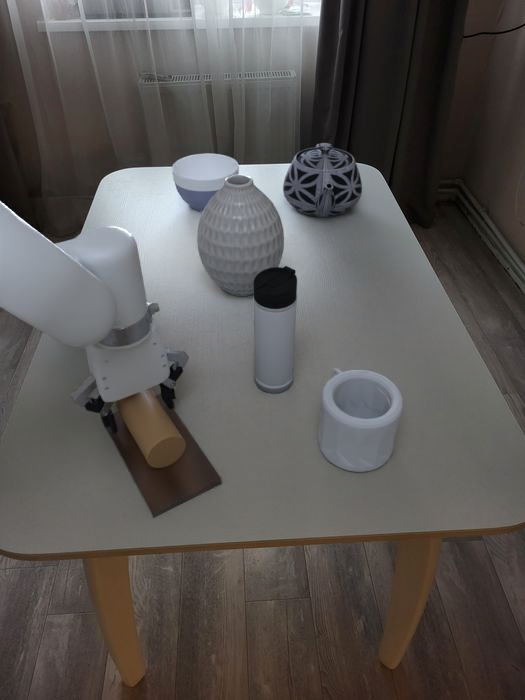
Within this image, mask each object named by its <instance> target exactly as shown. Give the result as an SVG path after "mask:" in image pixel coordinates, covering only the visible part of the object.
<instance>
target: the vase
mask: <svg viewBox="0 0 525 700" xmlns="http://www.w3.org/2000/svg"><path fill="white" fill-rule="evenodd" d="M284 233H285V232H284V227H283V223H282V218H281V215H280V214H279V212H278V209H277V207H276V206H275V204H274V203H273V201H272V200H271V199H270V198H269V197H268V196H267V195H266V194H265V193H264V192H263V191H262V190H261V189H260V188H258V187H257V186H256V185H255V183H254V179H253V178H252V177H250V176H249V175H246V174H239V175H233V176H229V177H228V178H226V179H225V181H224V186H223V187H222V188H221V189H220V190H219V191H218V192H217V193H216V194H215V195H214V196H213V197H212V198H211V199H210V200H209V202H208V203H207V204H206V206H205V208H204V210H203V212H201V215H200V218H199V221H198V225H197V233H196V234H197V235H196V243H197V251H198V254H199V259H200V262H201V264H202V266H203V268H204V270H205V272H206V273H207V275H208V276H209V277H210V278H211V280H212V281H213V282H214V283H215V284H216V285H217V286H218V287H219V288H221V289H222V290H223V291H225V292H226V293H228V294H230V295H233V296H235V297H247V296H253V295H254V286H253V282H254V279H255V277H256V275H257V274H259V273H260V272H261V271H263V270H265V269H268V268H273V267H280V264H281V262H282V259H283V254H284V249H285V248H284V247H285V234H284Z"/></svg>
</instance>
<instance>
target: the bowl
mask: <svg viewBox="0 0 525 700" xmlns="http://www.w3.org/2000/svg"><path fill="white" fill-rule="evenodd" d="M171 172H172V178H173V179H172V180H173V182H174V185H175V188H176V191H177V193H178V194H179V196H180V198H181V199H182V200H183V201H184V202H185V203H186V204H188V205H189V207H190V208H191V209H192V210H194V211H197V212H201V213H202V212H203V210H204V208H205V206H206V204H207V203H208V202H209V200H210V199H211V198H212V197H213V196H214V195H215V194H216V193H217V192H218V191H219V190H220V189H221V188H222V187H223V186H224V181H225V179H226V178H228V177H229V176H233V175H240V165H239V163H238V161H237V160H236V159H235V158H233V157H232V156H228V155H224V154H221V153H195V154H191V155H187V156H184V157H182V158H179V159H177V160H175V162H174V163H173V164H172V166H171Z"/></svg>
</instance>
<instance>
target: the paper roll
mask: <svg viewBox="0 0 525 700" xmlns="http://www.w3.org/2000/svg"><path fill="white" fill-rule="evenodd" d="M114 405H115V408H116V410H117V411H119V413H120V415H121V417H122V418H123V420H124V422H125V424H126V425H127V427H128V429H129V431H130V432H131V434H132V436H133V438H134V439H135V441H136V443H137V445H138V446H139V448H140V450H141V452H142V453H143V455H144V457H145V459H146V460H147V462H148V464H149V465H150V466H151V467H154V468H163V467H166V466H169V465H171V464H173V463H174V462H176V461H177V460H178V459H179V458H180V457H181V456H182V454H183V453H184V451H185V448H186V443H185V441H184V439H183V437H182V436H181V434H180V433H179V431H178V430H177V428H176V427H175V425H174V424H173V422H172V421H171V419H170V418H169V416H168V415H167V413H166V412H165V410H164V409H163V407H162V406H161V404H160V403H159V401H158V399H157V398H156V395H155V393H154V392H153V390H152V389H151V387H150V388H148V389H145V390H143V391H141V392H138V393H136V394H133V395H131V396H128V397H125V398H123V399H120V400H117V401H114Z"/></svg>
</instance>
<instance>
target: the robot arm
mask: <svg viewBox="0 0 525 700" xmlns="http://www.w3.org/2000/svg"><path fill="white" fill-rule="evenodd" d="M144 281H145V280H144V276H143V270H142V263H141V259H140V253H139V248H138V244H137V241H136V239H135V237H134V236H133V234H132V233H131V232H130V231H128V230H127V229H125V228H123V227H119V226H114V225H103V226H95V227H92V228H88V229H86V230H84V231H82V232H81V233H79V234H78V235H77V236H75V237H74V238H72V239H68V240H64V241H61V242H56V243H54V242H52V241H51V240H50V239H48V238H47V237H46V236H44V235H43V234H42V233H41V232H39V231H38V230H37V229H35V228H34V227H33V226H31V225H30V224H29V223H28V222H26V221H25V220H24V219H23V218H21V217H20V216H19V215H17V214H16V212H14V211H13V210H12V209H10V208H9V207H8V206H7V205H6V204H5V203H3V202H2V201H1V200H0V308H1V309H3V310H4V311H5V312H7V313H9V314H11V315H13V316H15V317H16V318H18V320H19V319H20V320H21V321H23V322H24V323H26V324H27V325H29V326H31V327H33V328H34V329H36V330H37V331H40V332H41V333H43V334H45V335H46V336H48V337H50V338H51V339H53V340H55V341H57V342H58V343H60V344H62V345H64V346H66V347H70V348H71V347H72V348H85V350H86V357H87V358H86V359H87V364H88V370H89V374H90V375H89V377H88V378H87V379H86V380H85V381H83V383H81V385H80V386H78V387H77V388H76V389H75V390H74V392H72V393H71V395H70V397H71V399H72V402H73V403H74V404H75V405H77V406H79V407H81V408H83V409H85V410H86V411H87V412H92V413H95V414H99V415H100V419H101V422H102V424H103V427H104V428H105V429H106V428H107V427H110V429H111V430H112V432H113V434H115V433H117V431H118V429H117V426H116V422H115V418H114V415H113V413H114V411H113V410H112V408H113V406H114V404H115V401H117V400H120V399H123V398H125V397H128V396H131V395H133V394H136V393H138V392H141V391H143V390H145V389H148V388H150V389H151V388H153V387H155V386H157V385H159V391H160V394H161V396H162V399H163V400H164V402H165V403H166V405H167V406H168V408H169V409H175V403H174V400H176V399H177V398H176V397H177V396H176V391H175V388H176V387H177V385H178V384H177V381H178V380H179V378H180V377H181V376H182V374H183V373H184V368H185V367H186V365H187V363H188V361H189V359H190V356H189V355H188V354H187V353H186V351H184V350H179V349H171V348H166V347H165V344H164V340H163V338H162V335H161V332H160V330H159V328H158V325H157V323H156V321H155V320H154V318H153V315H155V313H158V312H160V306H159V304H158V302H157V301H153V302H148V299H147V293H146V288H145V282H144ZM169 362H173V363H172V364H171V365H170V363H169ZM96 389H97V391H98V392H97V394H96V396H95V397H91V396H90V395H91V394H92V393H93V392H94V391H95V390H96Z"/></svg>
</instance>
